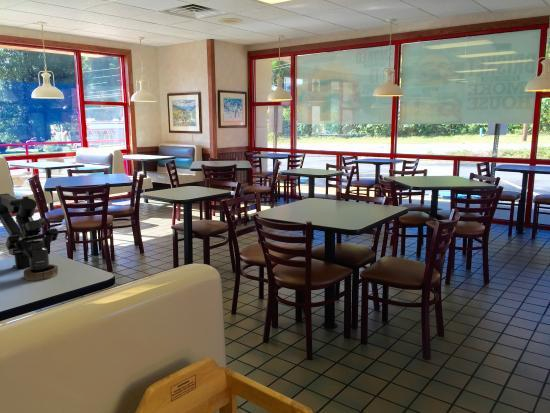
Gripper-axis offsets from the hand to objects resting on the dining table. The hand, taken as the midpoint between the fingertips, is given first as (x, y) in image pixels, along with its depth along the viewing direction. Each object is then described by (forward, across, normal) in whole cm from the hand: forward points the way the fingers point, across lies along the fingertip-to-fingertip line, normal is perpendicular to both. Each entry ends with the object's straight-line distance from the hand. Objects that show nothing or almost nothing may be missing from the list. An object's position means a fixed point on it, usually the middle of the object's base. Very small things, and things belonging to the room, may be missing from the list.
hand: (40, 255), depth 185 cm
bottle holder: (+5, 0, +7) cm, 9 cm away
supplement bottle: (+4, 0, +6) cm, 7 cm away
